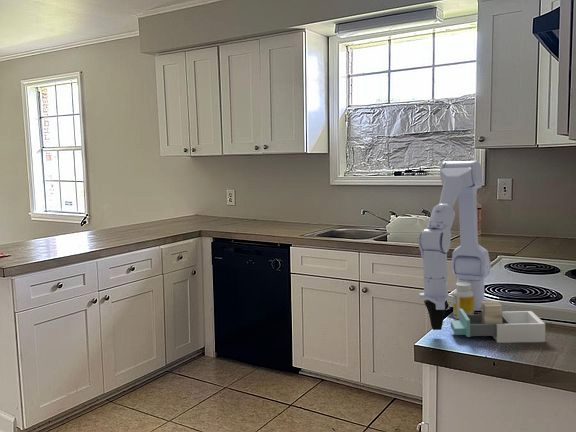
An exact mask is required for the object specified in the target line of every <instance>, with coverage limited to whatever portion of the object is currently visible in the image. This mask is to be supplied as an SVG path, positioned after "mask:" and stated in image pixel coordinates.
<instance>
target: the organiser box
mask: <svg viewBox="0 0 576 432" xmlns="http://www.w3.org/2000/svg"><path fill="white" fill-rule="evenodd" d="M502 314H503V316H504V317H505V318H506V319H507V320H508V321H509V322H510V324H497V336H492V337H493V339H494V340H495V342H497V344H498V343H499V344H500V343H507V344H508V343H546V322H544V321H543V320H542V319H541V318H539V316H538V315H537V314H535V313H534V311H532V310H521V311H519V310H518V311H517V310H514V311H513V310H510V311H502Z"/></svg>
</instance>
